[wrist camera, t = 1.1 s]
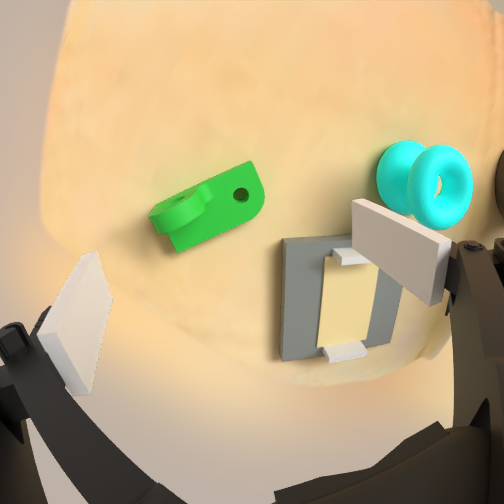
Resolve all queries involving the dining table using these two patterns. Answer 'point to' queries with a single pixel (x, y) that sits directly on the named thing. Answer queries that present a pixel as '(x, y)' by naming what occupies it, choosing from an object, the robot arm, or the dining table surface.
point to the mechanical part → (209, 207)
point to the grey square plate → (333, 300)
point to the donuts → (425, 183)
